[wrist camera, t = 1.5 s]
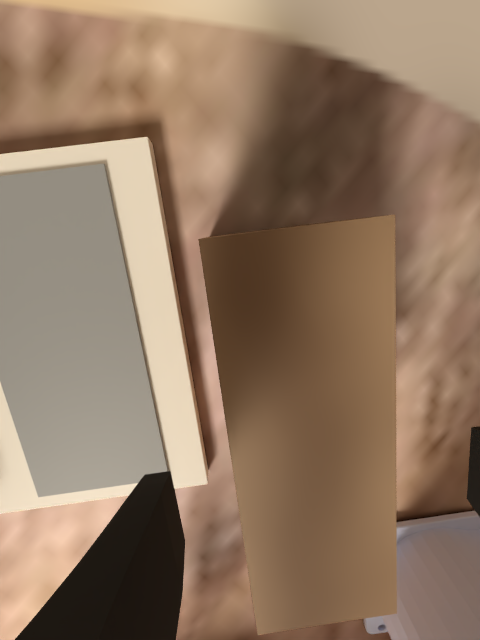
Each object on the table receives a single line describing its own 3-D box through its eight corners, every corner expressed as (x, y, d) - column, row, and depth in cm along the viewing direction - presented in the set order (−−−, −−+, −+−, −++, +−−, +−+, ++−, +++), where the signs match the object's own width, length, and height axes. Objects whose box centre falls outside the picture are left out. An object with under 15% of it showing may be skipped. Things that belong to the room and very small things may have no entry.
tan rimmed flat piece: (152, 143, 14) (126, 108, 10) (208, 470, 18) (205, 535, 14) (-143, 178, 14) (-287, 156, 10) (-19, 503, 18) (-86, 578, 14)
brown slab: (309, 224, 15) (401, 213, 7) (324, 452, 18) (401, 612, 10) (209, 236, 15) (198, 239, 7) (241, 464, 18) (257, 635, 10)
